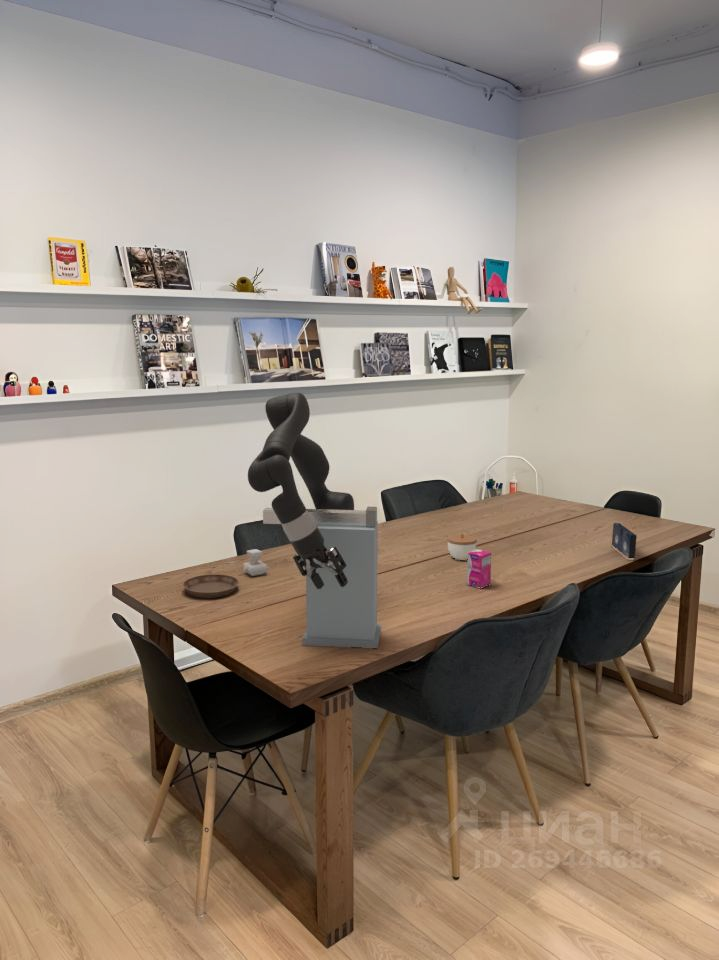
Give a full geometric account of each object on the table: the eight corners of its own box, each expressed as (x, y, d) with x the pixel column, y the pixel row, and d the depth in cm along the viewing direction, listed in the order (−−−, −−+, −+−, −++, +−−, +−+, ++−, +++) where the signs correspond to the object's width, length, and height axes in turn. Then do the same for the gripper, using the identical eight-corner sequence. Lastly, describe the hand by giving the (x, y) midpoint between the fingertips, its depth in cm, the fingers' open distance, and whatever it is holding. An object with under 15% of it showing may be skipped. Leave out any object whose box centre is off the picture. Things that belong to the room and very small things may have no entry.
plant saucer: (250, 588, 244) (249, 579, 243) (213, 604, 229) (213, 595, 228) (209, 579, 252) (208, 571, 252) (171, 594, 237) (171, 585, 237)
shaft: (262, 524, 197) (262, 507, 196) (266, 519, 201) (266, 503, 200) (375, 527, 194) (375, 510, 193) (376, 523, 198) (377, 506, 197)
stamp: (247, 579, 252) (247, 555, 251) (239, 574, 257) (238, 550, 256) (271, 574, 257) (270, 551, 255) (262, 569, 262) (262, 546, 261)
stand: (302, 645, 198) (300, 528, 192) (310, 627, 210) (309, 517, 204) (377, 648, 196) (377, 531, 190) (380, 631, 208) (381, 519, 202)
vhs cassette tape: (635, 561, 273) (636, 535, 272) (626, 561, 273) (628, 535, 272) (618, 547, 291) (620, 522, 290) (611, 547, 291) (612, 522, 290)
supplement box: (466, 585, 246) (467, 552, 244) (476, 581, 250) (477, 548, 248) (480, 589, 242) (481, 555, 240) (491, 585, 246) (492, 552, 244)
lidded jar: (475, 554, 281) (475, 530, 279) (476, 563, 271) (477, 538, 269) (446, 553, 282) (447, 529, 280) (447, 562, 272) (447, 537, 270)
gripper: (331, 519, 178) (361, 575, 182) (292, 526, 188) (322, 579, 192) (313, 537, 173) (344, 593, 177) (274, 543, 183) (304, 596, 187)
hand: (332, 586), depth 185 cm, fingers open, 8 cm apart
